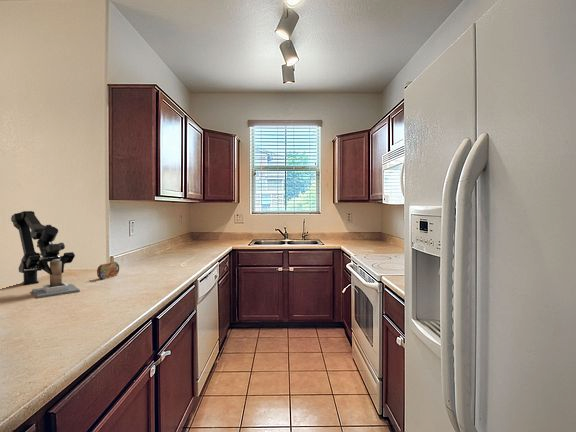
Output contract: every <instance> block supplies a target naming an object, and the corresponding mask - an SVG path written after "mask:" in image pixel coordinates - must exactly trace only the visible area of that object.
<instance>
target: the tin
mask: <svg viewBox="0 0 576 432" xmlns="http://www.w3.org/2000/svg"><path fill="white" fill-rule="evenodd" d="M119 272H120V265H119V263H118V262H117V261H110V262H107V263H103V264H99V266H98V267H97V269H96V275H97V277H98V279H101V280H103V279H104V280H106V279H110V278H113V277H116V276H117V275H118V274H119Z"/></svg>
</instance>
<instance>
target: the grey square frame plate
mask: <svg viewBox="0 0 576 432" xmlns="http://www.w3.org/2000/svg"><path fill="white" fill-rule="evenodd" d="M31 291H32V293H33V294H34V295H35V297H36V298H37V299H40V298H47V297H54V296H55V297H56V296H61V295H66V294H74V293H79V292H81V290H80V288H78V287H77V286H75V285H74V284H72V283H68V284H67V283H66V282H65V281H64V282H62V286H58V287H50V283H49V284H44V285H42V287H40V288H39V287H38V288H32V289H31Z"/></svg>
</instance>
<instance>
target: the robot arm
mask: <svg viewBox="0 0 576 432" xmlns="http://www.w3.org/2000/svg"><path fill="white" fill-rule="evenodd" d="M10 220H11V222H12V224H13V227H15V229H17V230H18V233H19V238H20V242H21V247H22V251H23V256H22V258H21V259H20V261H21V262H20V264H19V266H18V272H19V273H22V274H23V275H22V276H23V281H21V284H22V285H32V284H39V283H40V281H39V280H38V272H41V271H44V272H45V273H47V274H48V275H49V276H50V275H51V274H52V272H51V269H50V264H49V263H50V262H52V260H53V259H60V261H62V274H63V273H64V271H65V269H64V268H65V265H66V264H70V263H72V262H73V260H74V258H75V257H76V254H75V253H74V252H73V251H70V252H64V253H63V255H60V252H61V251H62V250H64V249H66V246H65V244H64V242H58V243H53V242H55V240H56V237H57V236H58V233H59V229H58V228H57V227H56V226H52V224H46V225H45V224H42V223H41V222H40V220H39V219H38V217H37V216H36V215H35V211H32V210H23V211H21V212H17V213H14V214H12V215H11V217H10ZM33 240H35V241H36V244H37V245H36V247H37V248H39V251H40V252H36V250H35V245H34V241H33Z"/></svg>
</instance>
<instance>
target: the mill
mask: <svg viewBox="0 0 576 432" xmlns="http://www.w3.org/2000/svg"><path fill="white" fill-rule="evenodd" d="M49 267H50V269H51V272H52V274H51V275H50V274H49V284H50V287H58V286H62V283H63V281H62V280H63V279H62V278H63V276H62V275H63V273H62V261H60V259H53V260H52V262H49Z"/></svg>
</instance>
